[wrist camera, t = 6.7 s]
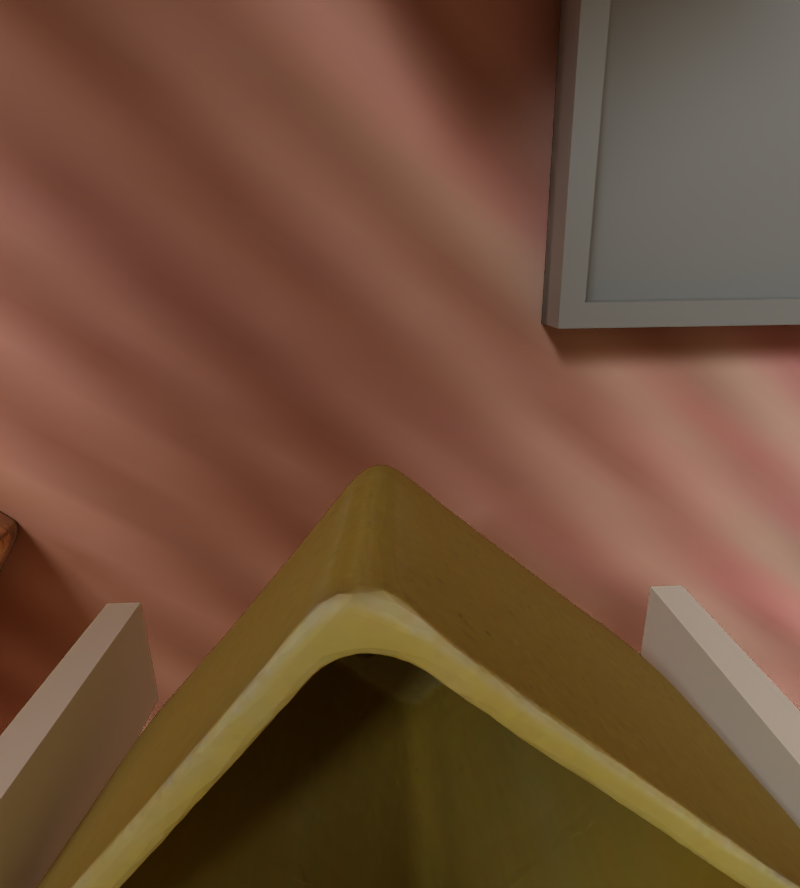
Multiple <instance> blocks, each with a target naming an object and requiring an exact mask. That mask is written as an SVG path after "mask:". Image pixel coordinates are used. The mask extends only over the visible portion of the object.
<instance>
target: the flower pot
mask: <svg viewBox="0 0 800 888" xmlns="http://www.w3.org/2000/svg"><path fill="white" fill-rule="evenodd" d="M36 888H800V828H799V827H798V826H797V825H796V823H795V822H794V821H793V820H792V819H791V818H790V816H789V815H788V814H787V813H786V812H785V811H784V810H783V808H782V807H781V806H780V805H779V804H778V803H777V802H776V800H775V799H774V798H773V797H772V796H771V795H770V794H769V792H768V791H767V790H766V789H765V788H764V787H763V786H762V784H761V783H760V782H759V781H758V780H757V779H756V778H755V777H754V775H753V774H752V773H751V772H750V771H749V770H748V769H747V767H746V766H745V765H744V764H743V763H742V762H741V761H740V760H739V758H738V757H737V756H736V755H735V754H734V753H733V752H732V750H731V749H730V748H729V747H728V746H727V745H726V744H725V742H724V741H723V740H722V739H721V738H720V737H719V736H718V735H717V733H716V732H715V731H714V730H713V729H712V728H711V727H710V726H709V724H708V723H707V722H706V721H705V720H704V719H703V718H702V717H701V715H700V714H699V713H698V712H697V711H696V710H695V709H694V708H693V707H692V705H691V704H690V703H689V702H688V701H687V700H686V699H685V698H684V697H683V696H682V695H681V693H680V692H679V691H678V690H677V689H676V688H675V687H674V686H673V685H672V684H671V683H670V682H669V681H668V680H667V679H666V678H665V677H664V676H663V675H662V674H661V673H660V672H659V671H658V670H657V669H656V668H655V667H653V666H652V665H651V664H650V663H649V662H648V661H647V660H646V659H644V658H643V657H642V656H641V655H640V654H639V653H638V652H636V651H635V650H634V649H633V648H632V647H630V646H629V645H628V644H627V643H625V642H624V641H623V640H622V639H621V638H619V637H618V636H617V635H615V634H614V633H613V632H612V631H610V630H609V629H608V628H606V627H605V626H604V625H602V624H601V623H599V622H598V621H597V620H595V619H594V618H592V617H591V616H589V615H588V614H586V613H585V612H584V611H582V610H581V609H580V608H578V607H577V606H575V605H574V604H573V603H571V602H570V601H569V600H567V599H566V598H565V597H563V596H562V595H561V594H559V593H558V592H557V591H555V590H554V589H553V588H551V587H550V586H549V585H547V584H546V583H545V582H543V581H542V580H541V579H539V578H538V577H537V576H535V575H534V574H533V573H531V572H530V571H529V570H527V569H526V568H525V567H523V566H522V565H521V564H519V563H518V562H517V561H515V560H514V559H513V558H512V557H510V556H509V555H508V554H506V553H505V552H504V551H502V550H501V549H500V548H498V547H497V546H496V545H494V544H493V543H492V542H490V541H489V540H488V539H486V538H485V537H484V536H482V535H481V534H480V533H478V532H477V531H476V530H475V529H473V528H472V527H471V526H469V525H468V524H467V523H466V522H464V521H463V520H462V519H460V518H459V517H458V516H456V515H455V514H454V513H453V512H451V511H450V510H449V509H447V508H446V507H445V506H443V505H442V504H441V503H440V502H438V501H437V500H436V499H435V498H433V497H432V496H431V495H430V494H428V493H427V492H426V491H424V490H423V489H422V488H421V487H419V486H418V485H417V484H416V483H414V482H413V481H412V480H410V479H409V478H408V477H406V476H405V475H404V474H402V473H401V472H399V471H397V470H396V469H394V468H392V467H389V466H386V465H375V466H372V467H370V468H368V469H366V470H364V471H363V472H362V473H360V474H359V475H358V476H357V477H356V478H355V479H354V480H353V481H352V482H351V483H350V484H349V486H348V487H347V488H346V489H345V490H344V492H343V493H342V494H341V495H340V496H339V498H338V499H337V500H336V501H335V503H334V504H333V505H332V506H331V508H330V509H329V510H328V511H327V513H326V514H325V515H324V516H323V518H322V519H321V520H320V521H319V522H318V524H317V525H316V526H315V527H314V529H313V530H312V531H311V532H310V534H309V535H308V536H307V537H306V538H305V540H304V541H303V542H302V543H301V545H300V546H299V547H298V548H297V549H296V551H295V552H294V553H293V554H292V556H291V557H290V558H289V559H288V560H287V562H286V563H285V564H284V565H283V566H282V568H281V569H280V570H279V571H278V573H277V574H276V575H275V576H274V577H273V579H272V580H271V581H270V582H269V583H268V585H267V586H266V587H265V588H264V590H263V591H262V592H261V593H260V594H259V596H258V597H257V598H256V599H255V600H254V602H253V603H252V604H251V605H250V606H249V607H248V609H247V610H246V611H245V612H244V613H243V615H242V616H241V617H240V618H239V619H238V621H237V622H236V623H235V624H234V625H233V627H232V628H231V629H230V630H229V631H228V632H227V634H226V635H225V636H224V637H223V638H222V639H221V641H220V642H219V643H218V644H217V645H216V646H215V647H214V649H213V650H212V651H211V652H210V653H209V654H208V656H207V657H206V658H205V659H204V660H203V661H202V663H201V664H200V665H199V666H198V667H197V668H196V669H195V671H194V672H193V673H192V674H191V675H190V676H189V677H188V678H187V680H186V681H185V682H184V683H183V684H182V685H181V686H180V687H179V689H178V690H177V691H176V692H175V693H174V694H173V695H172V697H171V698H170V699H169V700H168V701H167V702H166V703H165V705H164V706H163V707H162V708H161V710H160V711H159V712H158V713H157V714H156V716H155V717H154V718H153V719H152V721H151V722H150V723H149V724H148V726H147V727H146V728H145V730H144V731H143V732H142V734H141V735H140V736H139V738H138V739H137V740H136V742H135V743H134V744H133V746H132V747H131V749H130V750H129V752H128V753H127V754H126V756H125V757H124V759H123V760H122V762H121V763H120V764H119V766H118V767H117V769H116V770H115V772H114V773H113V775H112V776H111V778H110V779H109V781H108V782H107V784H106V785H105V787H104V788H103V790H102V791H101V793H100V794H99V796H98V797H97V798H96V800H95V801H94V803H93V804H92V806H91V807H90V809H89V810H88V812H87V813H86V815H85V816H84V818H83V819H82V821H81V822H80V824H79V825H78V827H77V828H76V830H75V831H74V833H73V834H72V836H71V837H70V839H69V840H68V842H67V843H66V845H65V846H64V847H63V849H62V850H61V852H60V853H59V855H58V856H57V858H56V859H55V861H54V862H53V864H52V865H51V867H50V868H49V870H48V871H47V873H46V874H45V876H44V877H43V879H42V880H41V882H40V883H39V884H38V886H37V887H36Z"/></svg>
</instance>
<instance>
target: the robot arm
mask: <svg viewBox="0 0 800 888" xmlns="http://www.w3.org/2000/svg"><path fill="white" fill-rule="evenodd" d="M640 655H641V656H642V657H643V658H644V659H646V660H647V661H648V662H649V663H650V664H651V665H652V666H653V667H655V668H656V669H657V670H658V671H659V672H660V673H661V674H662V675H663V676H664V677H665V678H666V679H667V680H668V681H669V682H670V683H671V684H672V685H673V686H674V687H675V688H676V689H677V690H678V691H679V692H680V693H681V695H682V696H683V697H684V698H685V699H686V700H687V701H688V702H689V703H690V704H691V705H692V707H693V708H694V709H695V710H696V711H697V712H698V713H699V714H700V715H701V717H702V718H703V719H704V720H705V721H706V722H707V723H708V724H709V726H710V727H711V728H712V729H713V730H714V731H715V732H716V733H717V735H718V736H719V737H720V738H721V739H722V740H723V741H724V742H725V744H726V745H727V746H728V747H729V748H730V749H731V750H732V752H733V753H734V754H735V755H736V756H737V757H738V758H739V760H740V761H741V762H742V763H743V764H744V765H745V766H746V767H747V769H748V770H749V771H750V772H751V773H752V774H753V775H754V777H755V778H756V779H757V780H758V781H759V782H760V783H761V784H762V786H763V787H764V788H765V789H766V790H767V791H768V792H769V794H770V795H771V796H772V797H773V798H774V799H775V800H776V802H777V803H778V804H779V805H780V806H781V807H782V808H783V810H784V811H785V812H786V813H787V814H788V815H789V816H790V818H791V819H792V820H793V821H794V822H795V823H796V825H797V826H798V827H799V828H800V711H799V710H798V709H797V707H796V706H795V705H794V704H793V703H792V702H791V701H790V700H789V699H788V698H787V697H786V696H785V695H784V694H783V693H782V691H781V690H780V689H779V688H778V687H777V686H776V685H775V684H774V683H773V682H772V681H771V680H770V679H769V678H768V677H767V675H766V674H765V673H764V672H763V671H762V670H761V669H760V668H759V667H758V666H757V665H756V664H755V663H754V662H753V660H752V659H751V658H750V657H749V656H748V655H747V654H746V653H745V652H744V651H743V650H742V649H741V648H740V647H739V646H738V644H737V643H736V642H735V641H734V640H733V639H732V638H731V637H730V636H729V635H728V634H727V633H726V632H725V631H724V630H723V628H722V627H721V626H720V625H719V624H718V623H717V622H716V621H715V620H714V619H713V618H712V617H711V616H710V615H709V614H708V612H707V611H706V610H705V609H704V608H703V607H702V606H701V605H700V604H699V603H698V602H697V601H696V600H695V599H694V598H693V596H692V595H691V594H690V593H689V592H688V591H687V590H686V589H685V588H684V587H683V586H651V587H650V594H649V600H648V607H647V614H646V621H645V627H644V634H643V641H642V648H641V654H640ZM158 698H159V697H158V692H157V686H156V681H155V676H154V671H153V665H152V660H151V655H150V649H149V644H148V639H147V633H146V628H145V623H144V618H143V612H142V607H141V602H134V603H107V604H106V605H105V607H104V608H103V609H102V610H101V612H100V613H99V614H98V615H97V617H96V618H95V619H94V620H93V622H92V623H91V624H90V625H89V626H88V628H87V629H86V630H85V631H84V633H83V634H82V635H81V636H80V638H79V639H78V640H77V641H76V643H75V644H74V645H73V646H72V648H71V649H70V650H69V651H68V652H67V654H66V655H65V656H64V657H63V659H62V660H61V661H60V662H59V664H58V665H57V666H56V667H55V669H54V670H53V671H52V672H51V673H50V675H49V676H48V677H47V678H46V680H45V681H44V682H43V683H42V685H41V686H40V687H39V688H38V690H37V691H36V692H35V693H34V695H33V696H32V697H31V698H30V699H29V701H28V702H27V703H26V704H25V706H24V707H23V708H22V709H21V711H20V712H19V713H18V714H17V716H16V717H15V718H14V719H13V720H12V722H11V723H10V724H9V725H8V727H7V728H6V729H5V730H4V732H3V733H2V734H1V735H0V888H36V887H37V886H38V884H39V883H40V882H41V880H42V879H43V877H44V876H45V874H46V873H47V871H48V870H49V868H50V867H51V865H52V864H53V862H54V861H55V859H56V858H57V856H58V855H59V853H60V852H61V850H62V849H63V847H64V846H65V845H66V843H67V842H68V840H69V839H70V837H71V836H72V834H73V833H74V831H75V830H76V828H77V827H78V825H79V824H80V822H81V821H82V819H83V818H84V816H85V815H86V813H87V812H88V810H89V809H90V807H91V806H92V804H93V803H94V801H95V800H96V798H97V797H98V796H99V794H100V793H101V791H102V790H103V788H104V787H105V785H106V784H107V782H108V781H109V779H110V778H111V776H112V775H113V773H114V772H115V770H116V769H117V767H118V766H119V764H120V763H121V762H122V760H123V759H124V757H125V756H126V754H127V753H128V752H129V750H130V749H131V747H132V746H133V744H134V743H135V742H136V740H137V739H138V737H139V735H140V733H141V731H142V729H143V727H144V725H145V723H146V721H147V719H148V717H149V715H150V714H151V712H152V710H153V708H154V706H155V704H156V702H157V700H158Z"/></svg>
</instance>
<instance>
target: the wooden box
mask: <svg viewBox="0 0 800 888" xmlns="http://www.w3.org/2000/svg"><path fill="white" fill-rule="evenodd" d="M16 537H17V523H16V522H15V521H14V520H13V519H11V518H10V517H8V516H7V515H5V514H3V513H2V512H0V571H1V569H2V567H3V565H4V563H5V561H6V559H7V557H8V554H9V552H10V550H11V548H12V546H13V544H14V542H15V540H16Z"/></svg>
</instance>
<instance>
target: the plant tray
mask: <svg viewBox="0 0 800 888" xmlns="http://www.w3.org/2000/svg"><path fill="white" fill-rule="evenodd" d="M541 323H542V324H545V325H548V326H551V327H554V328H558V329H571V328H629V327H687V326H745V325H800V0H561V10H560V27H559V43H558V59H557V76H556V92H555V108H554V125H553V141H552V157H551V174H550V190H549V206H548V222H547V239H546V255H545V271H544V288H543V304H542V320H541Z"/></svg>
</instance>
